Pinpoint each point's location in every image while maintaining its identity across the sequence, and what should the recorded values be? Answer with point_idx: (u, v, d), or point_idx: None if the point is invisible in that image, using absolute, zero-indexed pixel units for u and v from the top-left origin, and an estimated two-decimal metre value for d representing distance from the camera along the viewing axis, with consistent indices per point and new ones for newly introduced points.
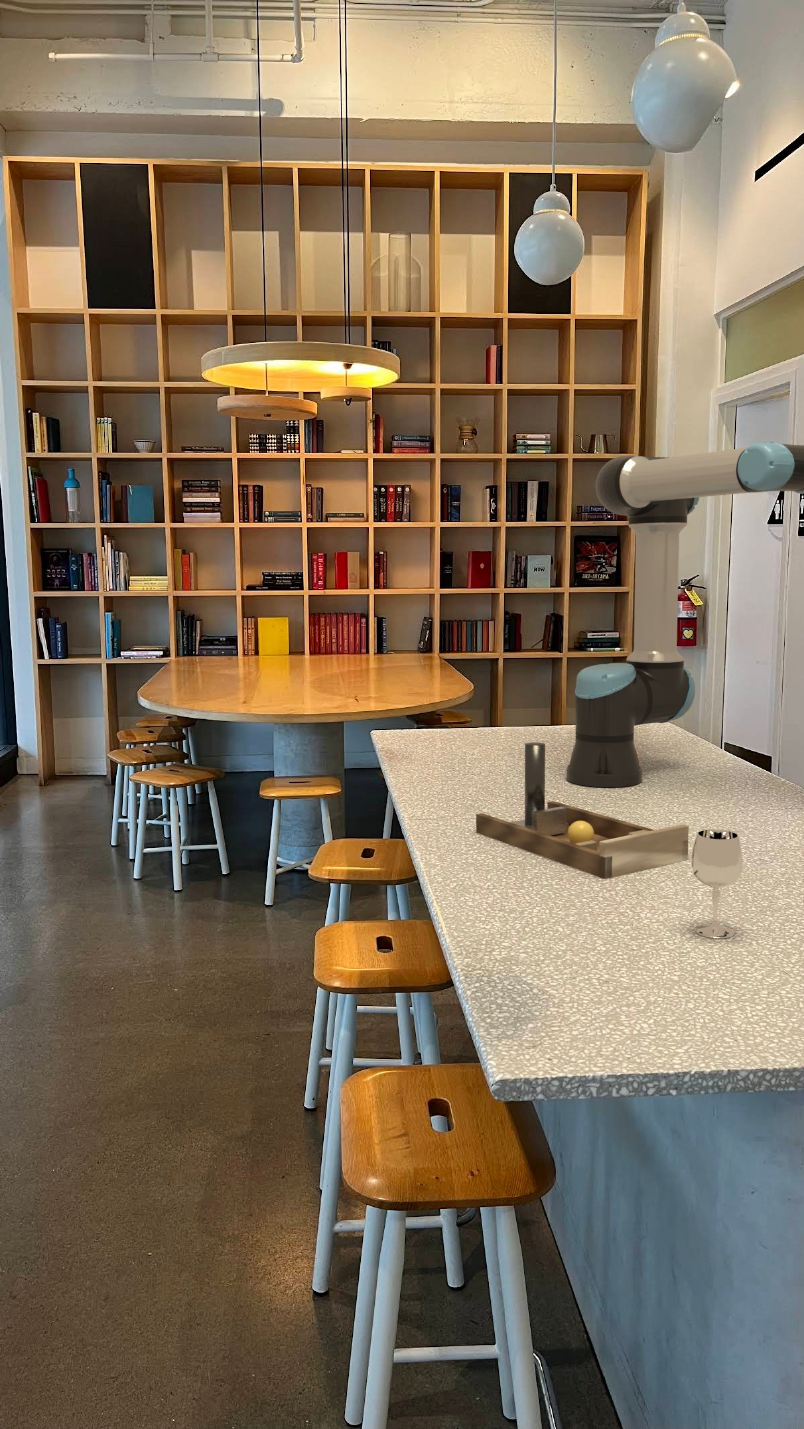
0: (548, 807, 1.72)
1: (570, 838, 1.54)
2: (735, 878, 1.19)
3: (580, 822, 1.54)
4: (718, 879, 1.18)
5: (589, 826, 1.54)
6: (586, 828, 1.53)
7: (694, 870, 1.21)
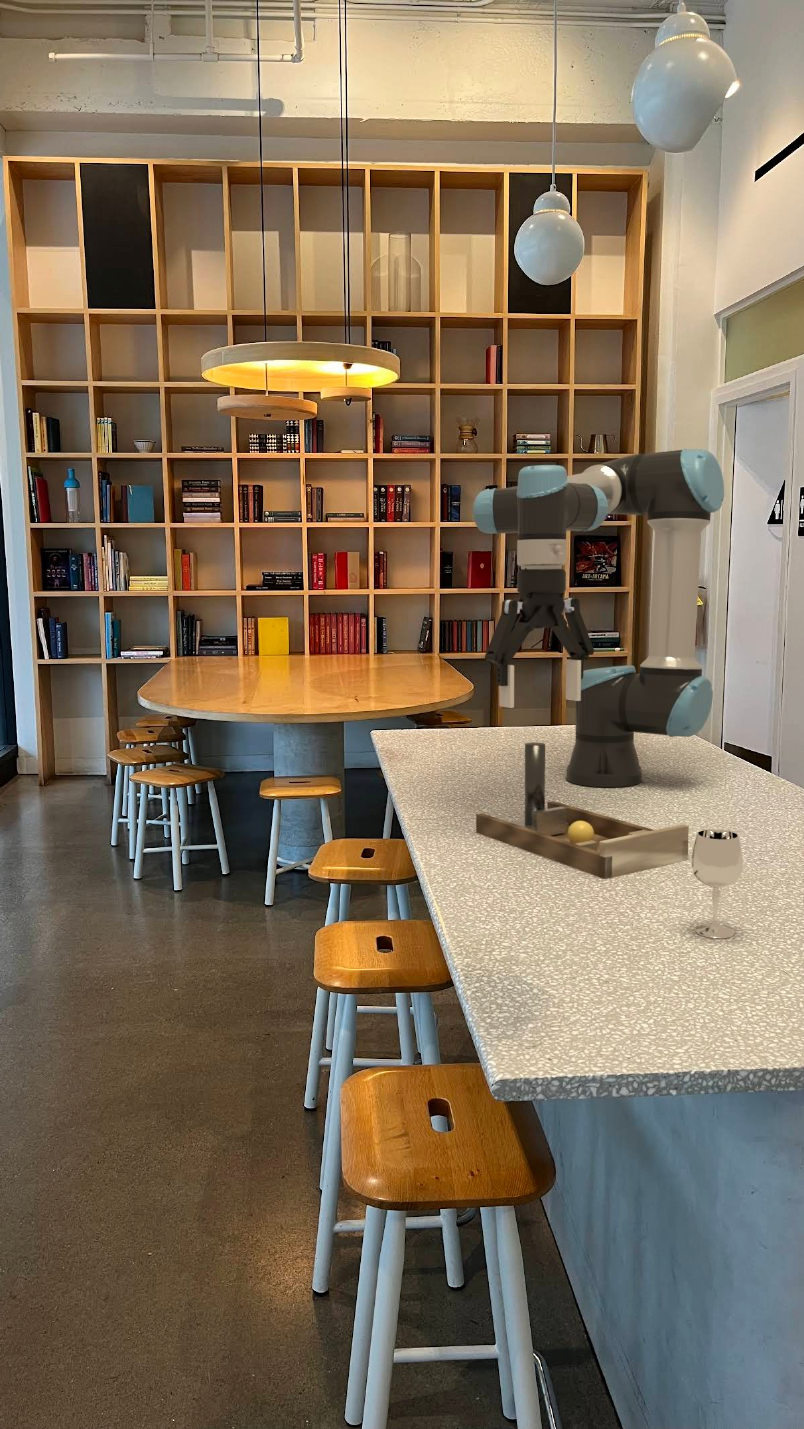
0: (548, 807, 1.72)
1: (570, 838, 1.54)
2: (735, 878, 1.19)
3: (580, 822, 1.54)
4: (718, 879, 1.18)
5: (589, 826, 1.54)
6: (586, 828, 1.53)
7: (694, 870, 1.21)
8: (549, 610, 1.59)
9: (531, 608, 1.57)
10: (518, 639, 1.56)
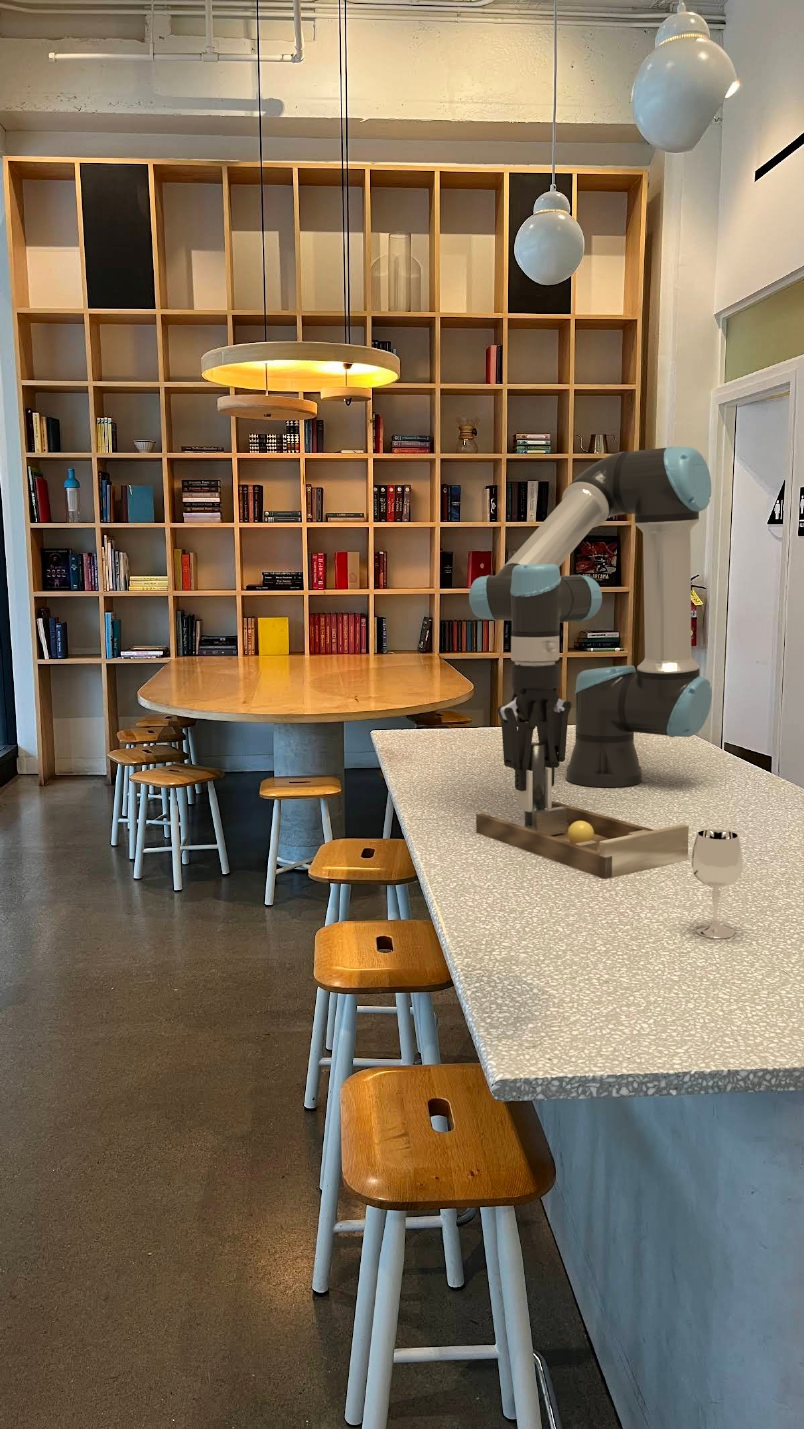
0: None
1: (570, 838, 1.54)
2: (735, 878, 1.19)
3: (580, 822, 1.54)
4: (718, 879, 1.18)
5: (589, 826, 1.54)
6: (586, 828, 1.53)
7: (694, 870, 1.21)
8: (543, 703, 1.61)
9: (526, 702, 1.59)
10: (526, 743, 1.60)
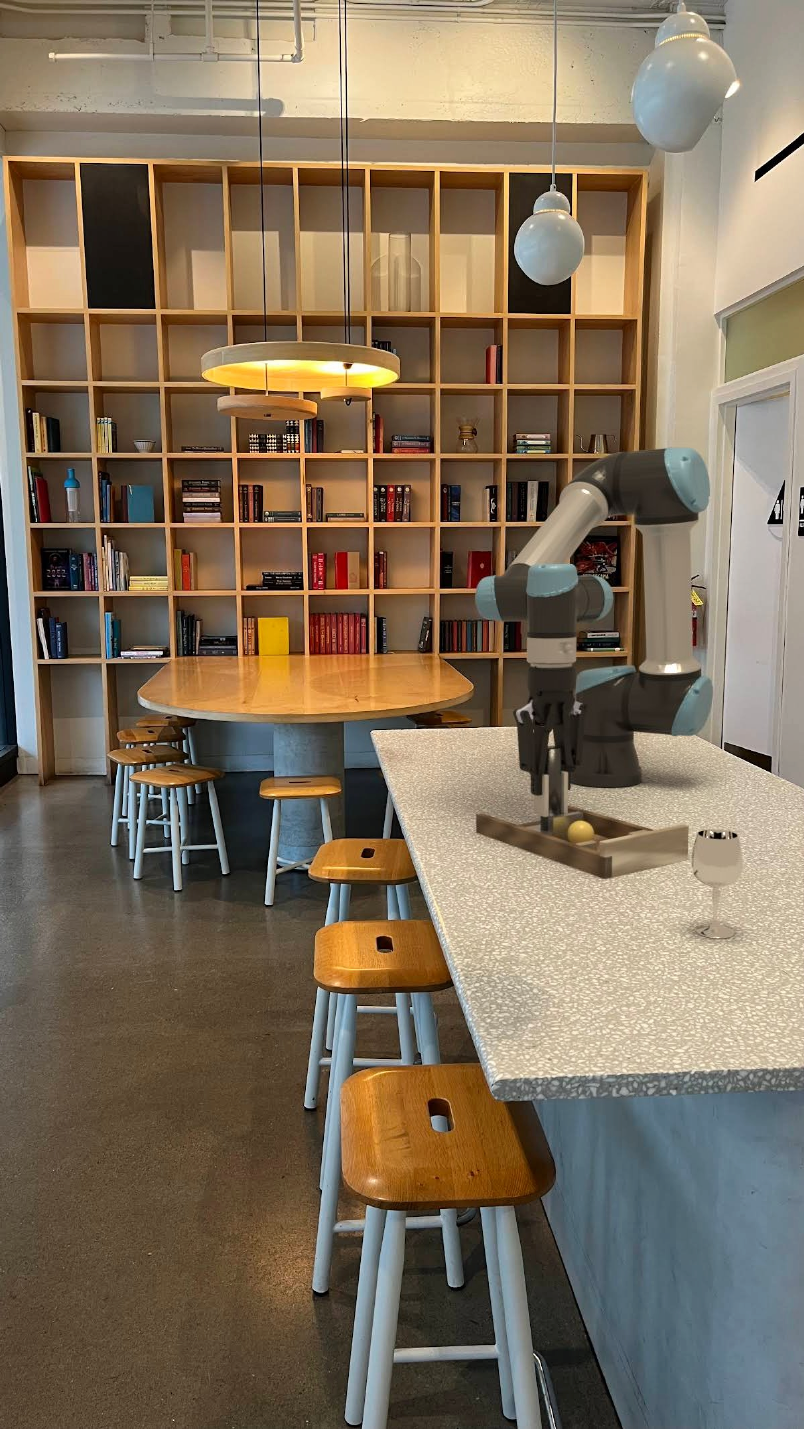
0: None
1: (570, 838, 1.54)
2: (735, 878, 1.19)
3: (580, 822, 1.54)
4: (718, 879, 1.18)
5: (589, 826, 1.54)
6: (586, 828, 1.53)
7: (694, 870, 1.21)
8: (559, 705, 1.58)
9: (542, 705, 1.56)
10: (542, 746, 1.57)
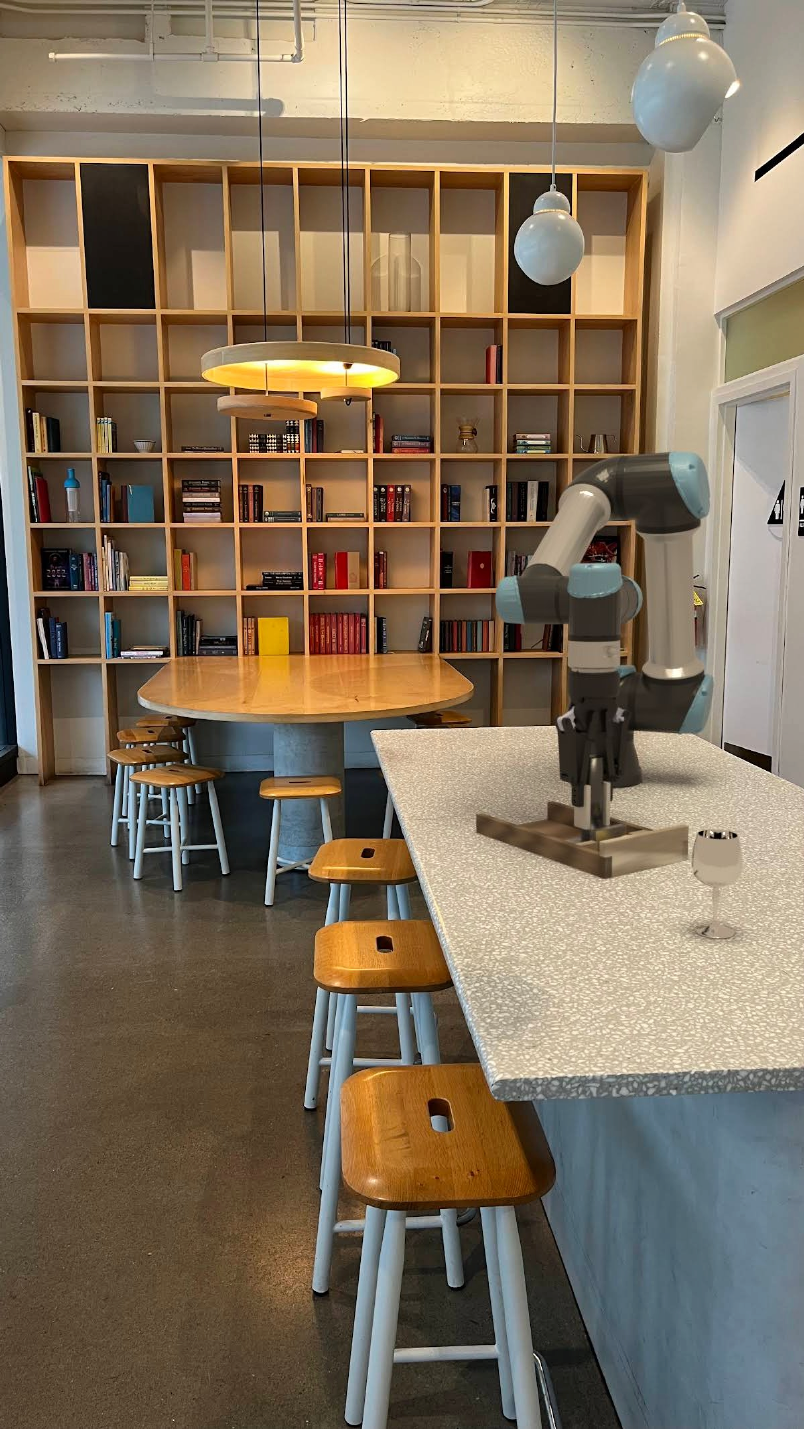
0: (548, 807, 1.72)
1: None
2: (735, 878, 1.19)
3: None
4: (718, 879, 1.18)
5: None
6: (622, 836, 1.47)
7: (694, 870, 1.21)
8: (602, 712, 1.50)
9: (584, 712, 1.48)
10: (584, 755, 1.49)
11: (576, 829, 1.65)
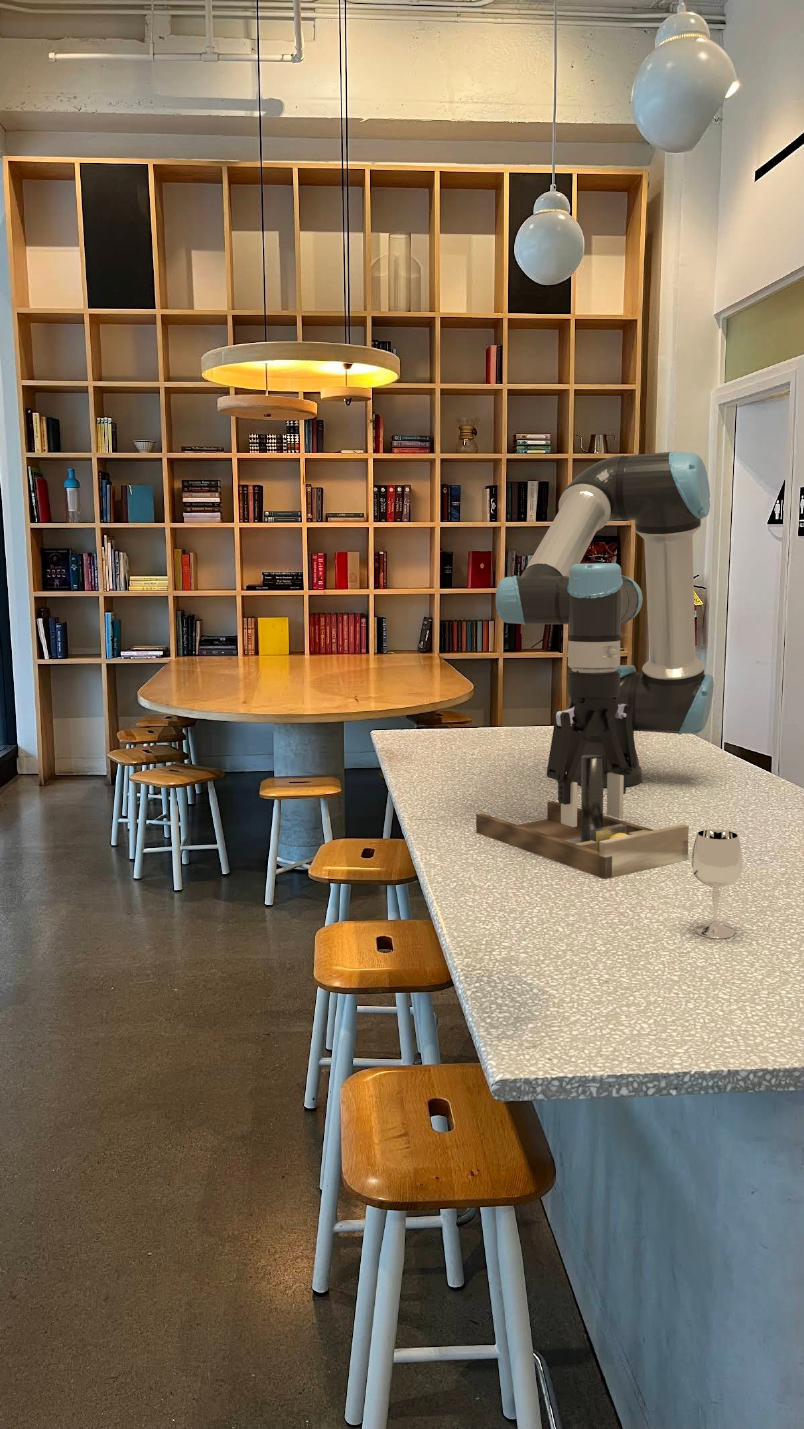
0: (548, 807, 1.72)
1: None
2: (735, 878, 1.19)
3: None
4: (718, 879, 1.18)
5: None
6: None
7: (694, 870, 1.21)
8: (602, 713, 1.50)
9: (584, 713, 1.48)
10: (577, 753, 1.48)
11: (576, 829, 1.65)
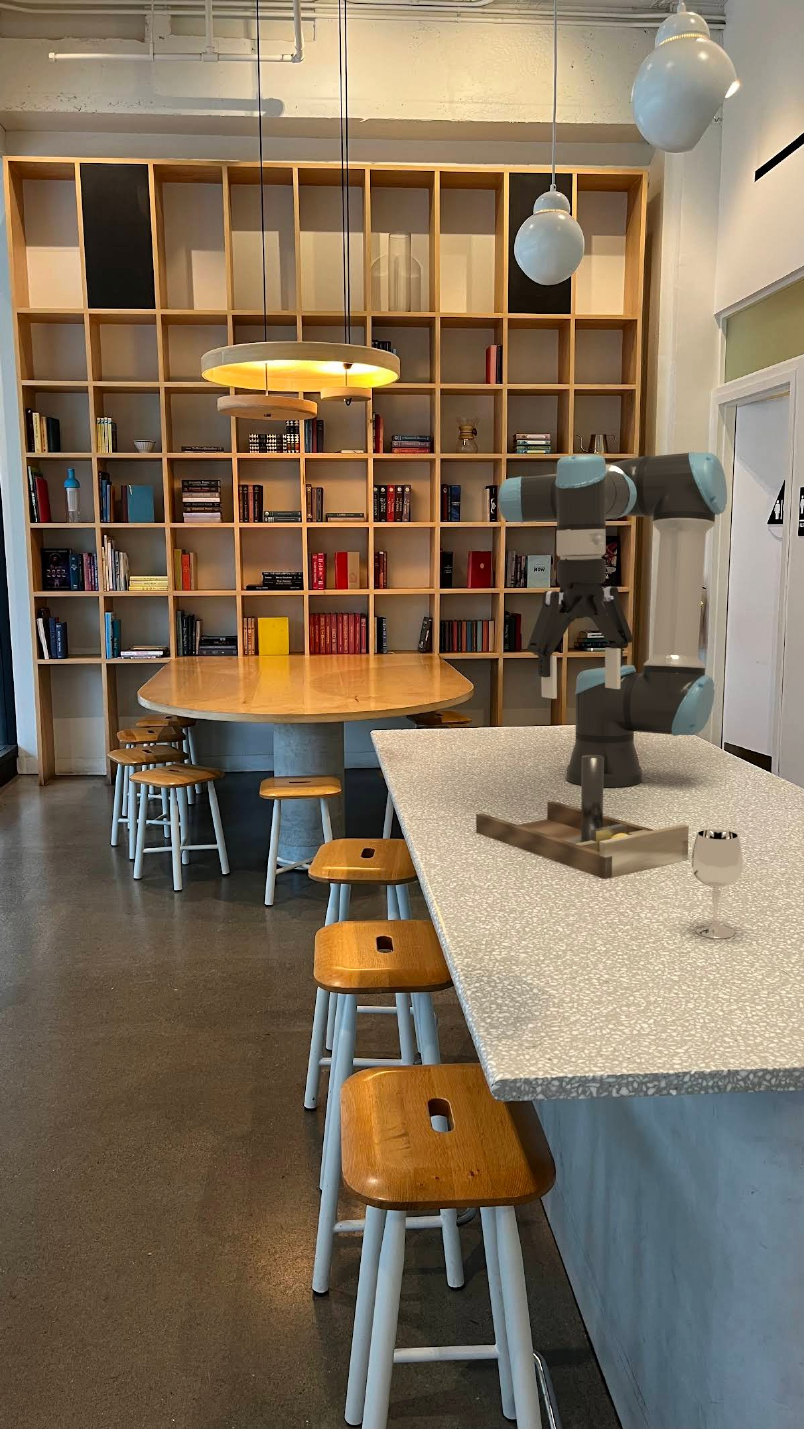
0: (548, 807, 1.72)
1: None
2: (735, 878, 1.19)
3: None
4: (718, 879, 1.18)
5: None
6: None
7: (694, 870, 1.21)
8: (589, 600, 1.59)
9: (572, 598, 1.57)
10: (560, 630, 1.56)
11: (576, 829, 1.65)
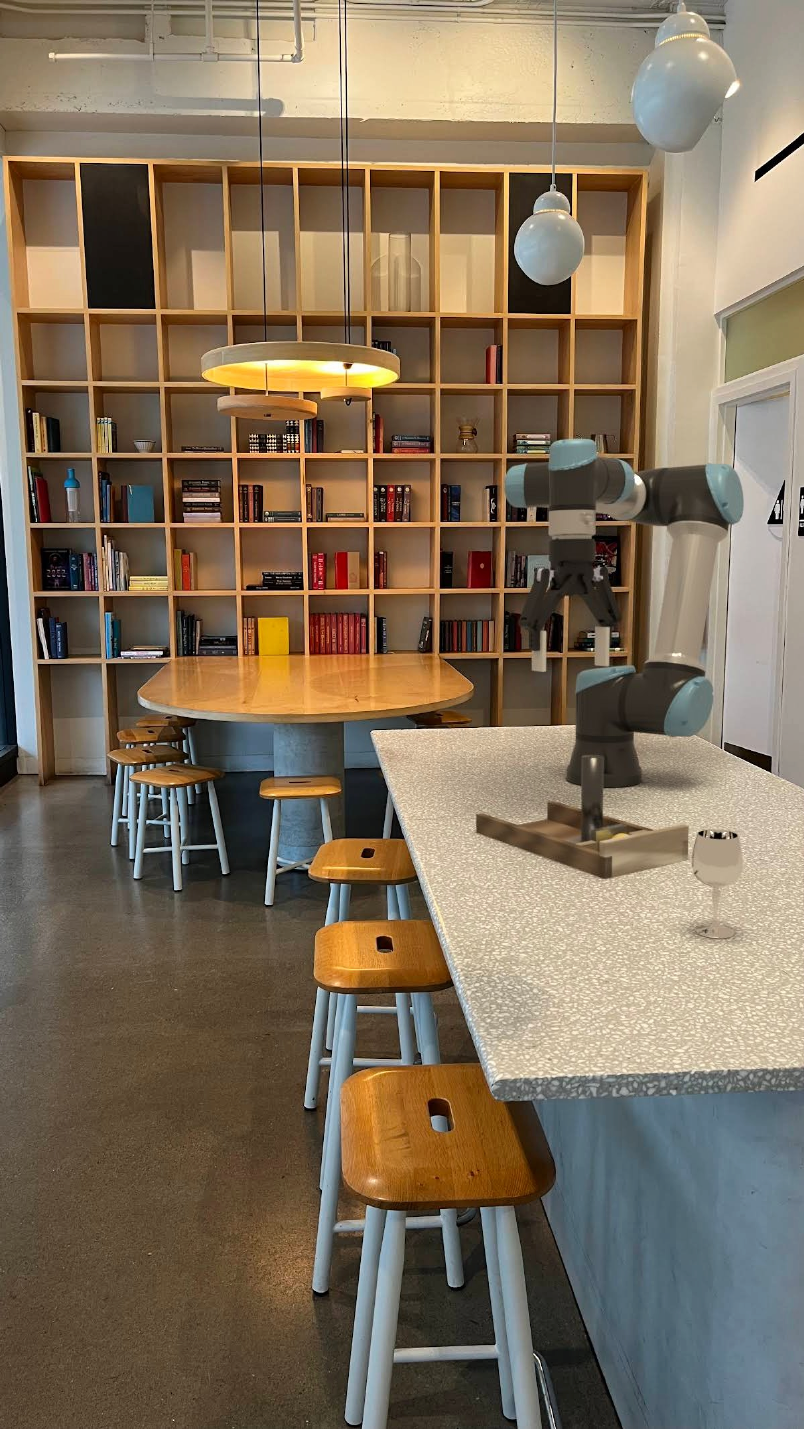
0: (548, 807, 1.72)
1: None
2: (735, 878, 1.19)
3: None
4: (718, 879, 1.18)
5: None
6: None
7: (694, 870, 1.21)
8: (579, 579, 1.66)
9: (562, 576, 1.64)
10: (550, 606, 1.63)
11: (576, 829, 1.65)
